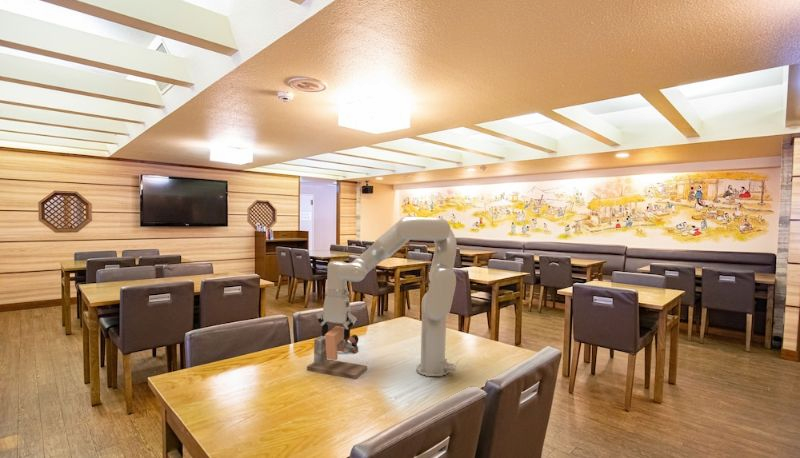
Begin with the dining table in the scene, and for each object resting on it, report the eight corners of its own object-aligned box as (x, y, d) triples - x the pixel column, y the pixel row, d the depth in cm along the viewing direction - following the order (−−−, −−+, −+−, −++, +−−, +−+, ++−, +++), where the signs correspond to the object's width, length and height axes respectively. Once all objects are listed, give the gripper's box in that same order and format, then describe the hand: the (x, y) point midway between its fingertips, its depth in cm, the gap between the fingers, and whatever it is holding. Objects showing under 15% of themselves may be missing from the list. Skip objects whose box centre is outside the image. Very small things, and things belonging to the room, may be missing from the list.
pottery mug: (352, 357, 165) (343, 340, 165) (338, 362, 170) (328, 346, 170) (367, 342, 175) (358, 327, 175) (353, 348, 180) (344, 332, 180)
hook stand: (367, 369, 150) (367, 340, 150) (355, 379, 141) (356, 348, 141) (320, 361, 158) (321, 333, 157) (306, 370, 148) (307, 340, 148)
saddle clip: (345, 350, 153) (344, 327, 151) (335, 360, 146) (334, 336, 144) (337, 348, 155) (335, 325, 153) (326, 358, 148) (324, 334, 146)
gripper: (361, 293, 150) (360, 337, 150) (322, 289, 156) (321, 331, 156) (352, 296, 143) (351, 342, 143) (312, 292, 148) (311, 336, 149)
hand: (335, 337), depth 149 cm, fingers open, 9 cm apart
